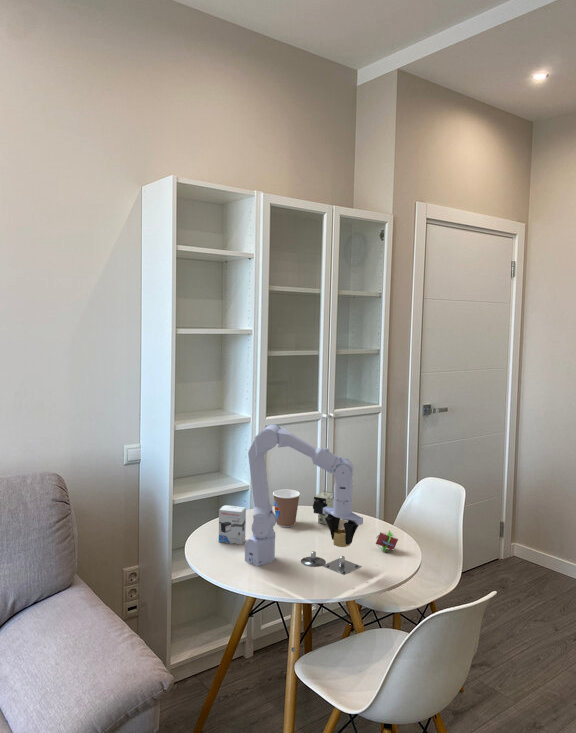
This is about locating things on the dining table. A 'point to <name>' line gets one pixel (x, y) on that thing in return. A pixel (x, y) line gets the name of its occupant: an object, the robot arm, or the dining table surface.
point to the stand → (313, 561)
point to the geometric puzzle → (386, 540)
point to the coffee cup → (286, 507)
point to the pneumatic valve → (323, 504)
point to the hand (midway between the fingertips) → (341, 541)
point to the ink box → (232, 524)
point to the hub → (342, 566)
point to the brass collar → (340, 538)
